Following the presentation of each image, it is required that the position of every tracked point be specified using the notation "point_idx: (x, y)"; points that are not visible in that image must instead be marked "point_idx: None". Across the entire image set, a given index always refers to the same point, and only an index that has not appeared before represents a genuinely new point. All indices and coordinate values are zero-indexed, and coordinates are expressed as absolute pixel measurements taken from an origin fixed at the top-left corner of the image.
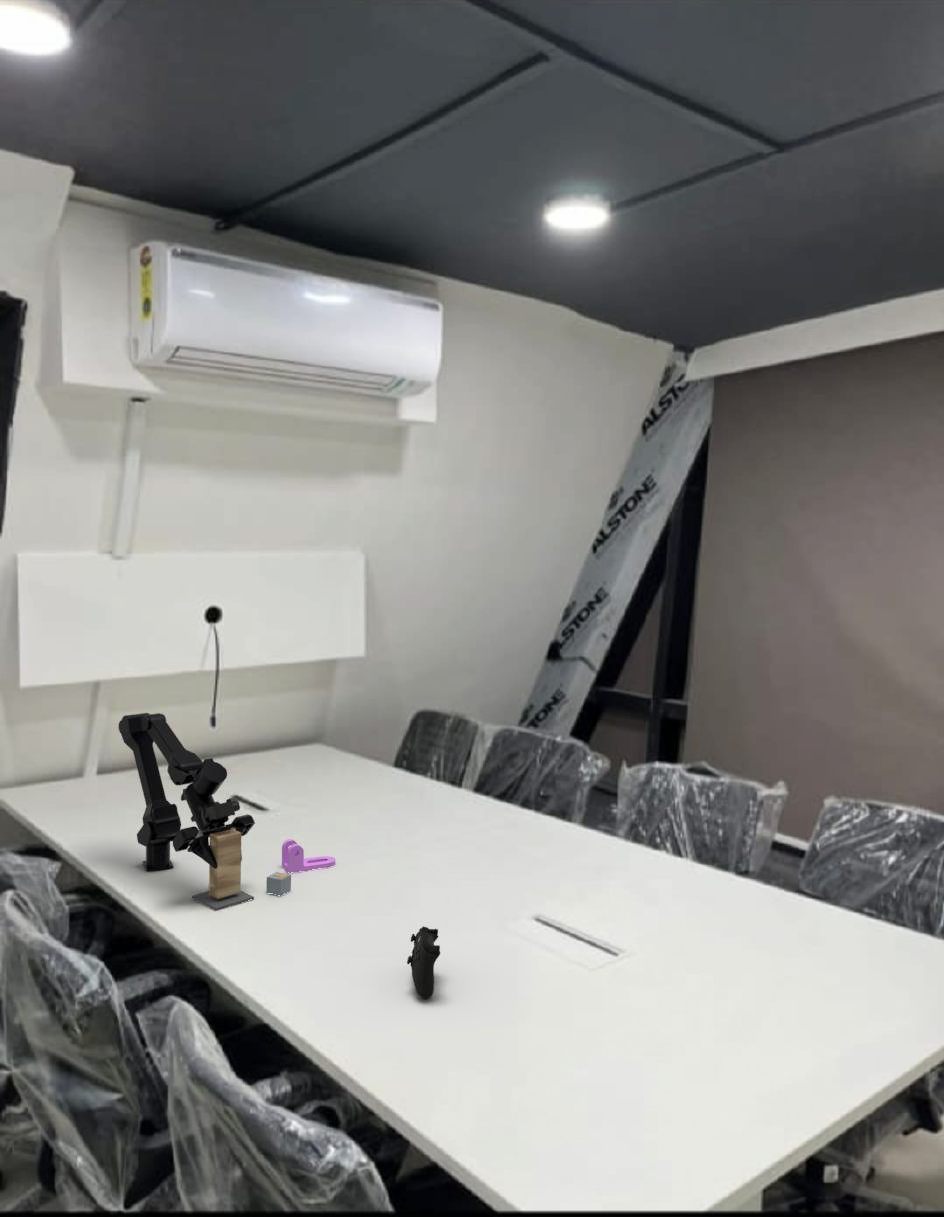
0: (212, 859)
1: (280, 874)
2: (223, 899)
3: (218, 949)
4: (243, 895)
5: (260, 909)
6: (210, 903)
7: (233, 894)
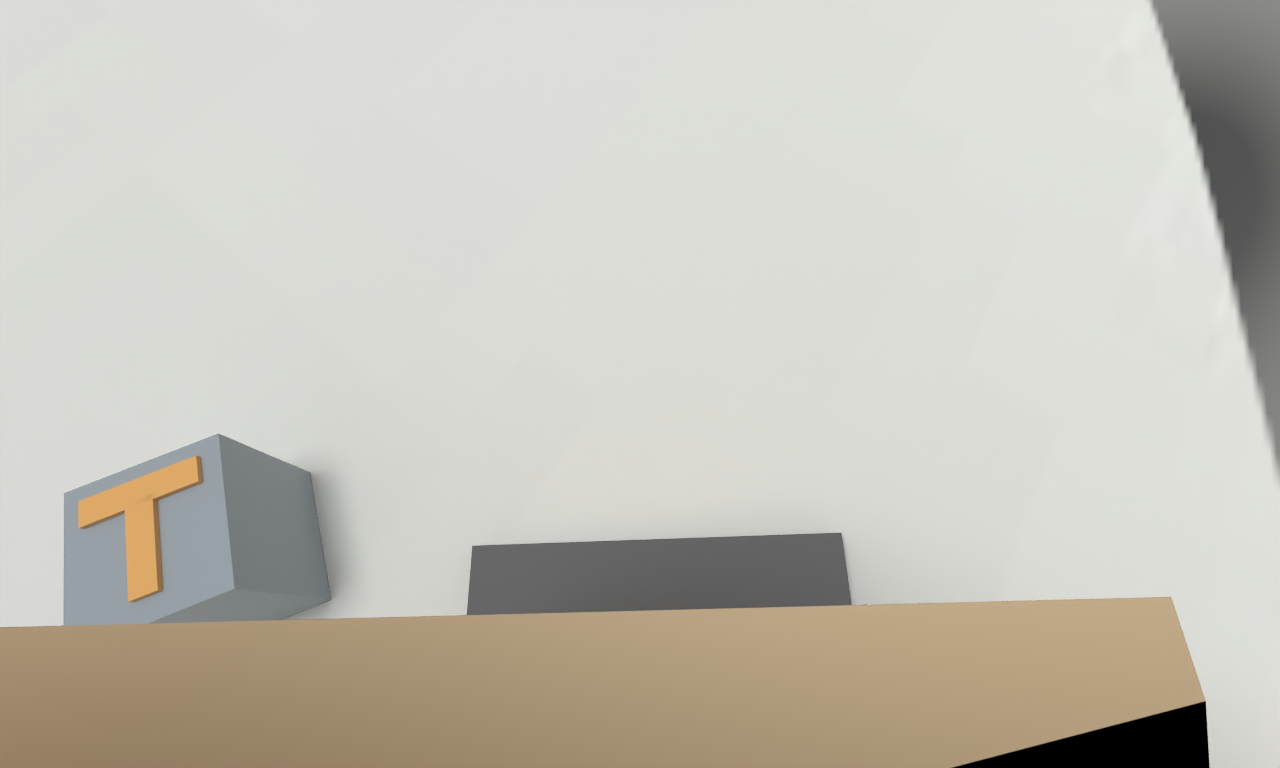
0: None
1: (108, 563)
2: None
3: (1059, 35)
4: None
5: (564, 357)
6: None
7: None
